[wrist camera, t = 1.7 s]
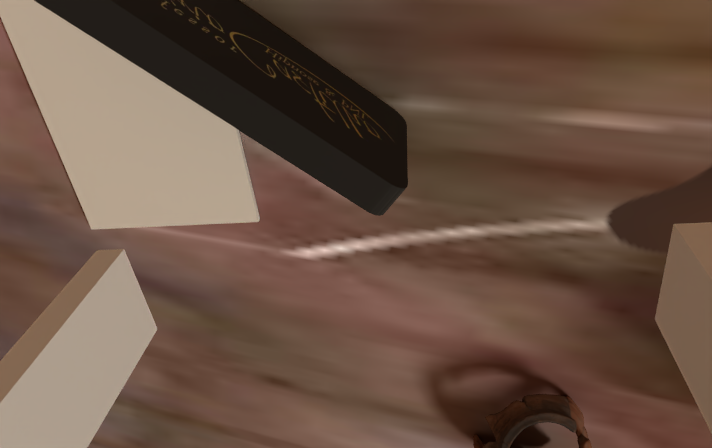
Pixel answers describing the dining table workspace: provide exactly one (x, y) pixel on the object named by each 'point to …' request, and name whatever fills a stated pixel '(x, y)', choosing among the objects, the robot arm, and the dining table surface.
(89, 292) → the robot arm
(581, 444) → the pottery mug
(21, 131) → the dining table surface
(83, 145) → the beige mat
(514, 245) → the dining table surface
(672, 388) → the dining table surface
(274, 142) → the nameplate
